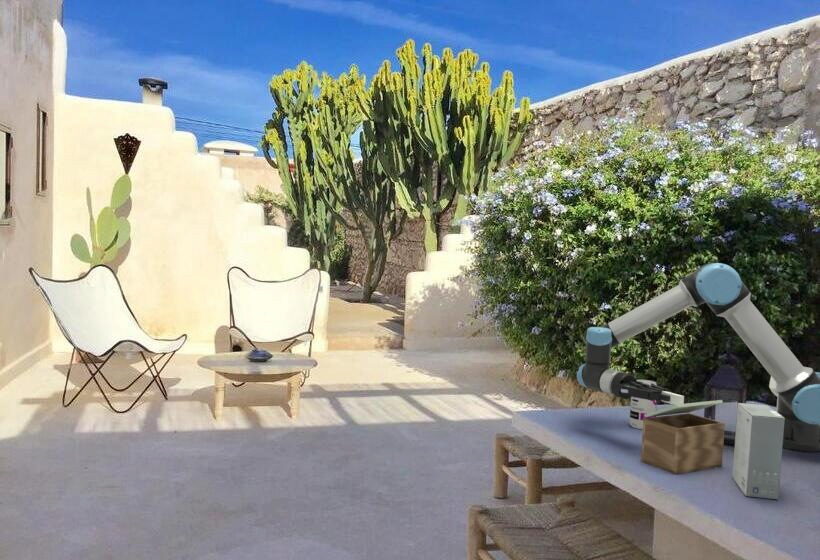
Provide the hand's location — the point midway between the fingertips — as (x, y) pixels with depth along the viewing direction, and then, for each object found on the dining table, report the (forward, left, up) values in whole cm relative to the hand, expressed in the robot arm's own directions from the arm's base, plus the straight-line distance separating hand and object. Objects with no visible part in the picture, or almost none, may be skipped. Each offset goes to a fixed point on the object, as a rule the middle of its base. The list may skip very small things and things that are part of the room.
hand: (681, 401), depth 203 cm
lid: (-1, -1, -3) cm, 3 cm away
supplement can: (-2, -41, -18) cm, 44 cm away
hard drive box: (-13, +17, -18) cm, 28 cm away
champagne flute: (-51, -52, -18) cm, 75 cm away
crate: (-1, -1, -17) cm, 18 cm away
